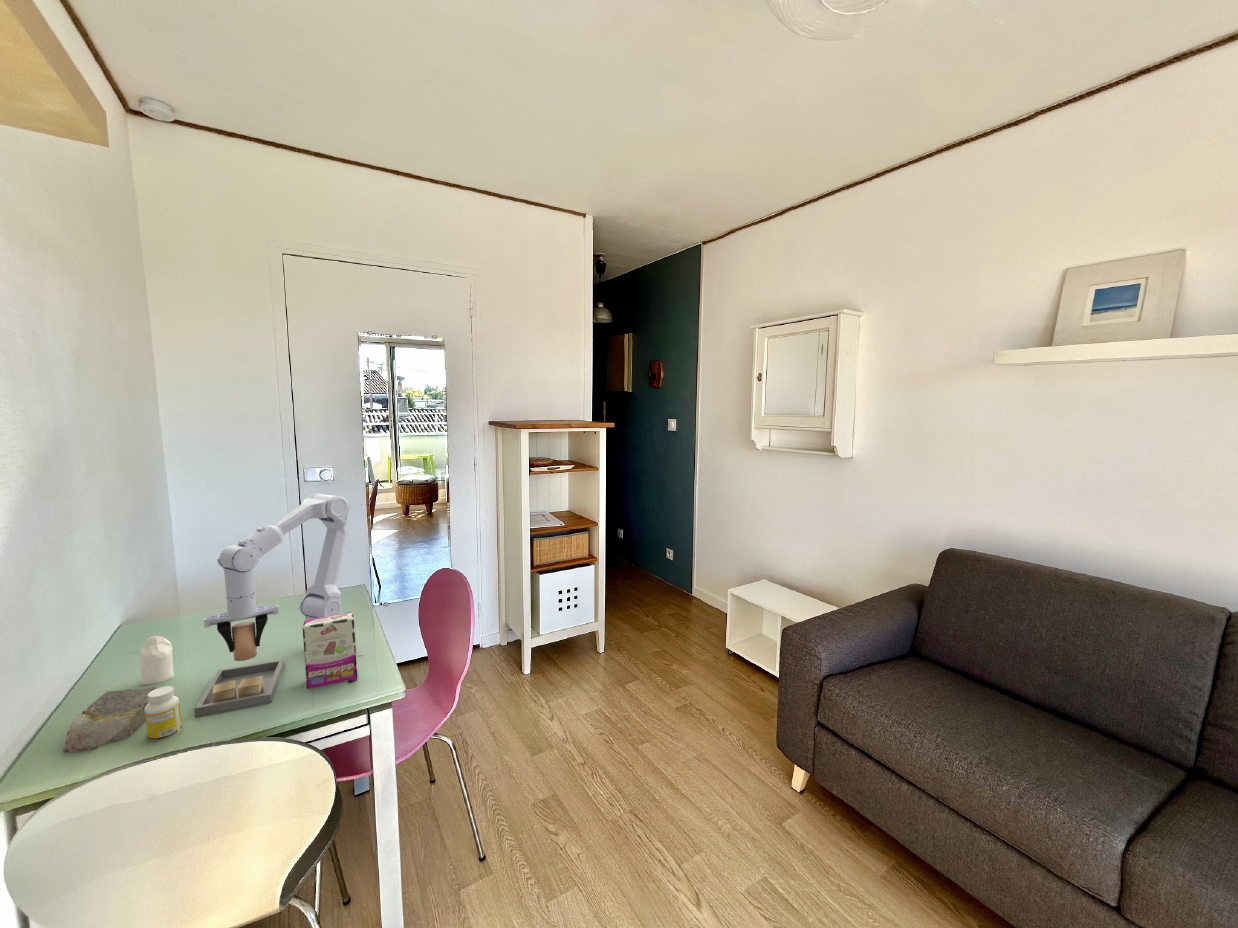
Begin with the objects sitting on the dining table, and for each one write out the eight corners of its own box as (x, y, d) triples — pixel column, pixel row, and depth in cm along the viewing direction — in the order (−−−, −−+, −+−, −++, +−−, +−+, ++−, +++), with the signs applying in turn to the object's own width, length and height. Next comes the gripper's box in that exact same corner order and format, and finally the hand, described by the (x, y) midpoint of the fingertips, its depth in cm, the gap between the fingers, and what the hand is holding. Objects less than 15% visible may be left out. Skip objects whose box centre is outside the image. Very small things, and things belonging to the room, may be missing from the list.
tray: (284, 668, 134) (284, 658, 134) (271, 704, 118) (270, 694, 118) (219, 679, 129) (218, 669, 128) (195, 719, 112) (194, 708, 112)
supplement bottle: (161, 727, 109) (157, 684, 108) (188, 726, 110) (184, 683, 109) (140, 744, 104) (135, 698, 103) (168, 742, 105) (164, 697, 103)
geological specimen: (166, 682, 118) (127, 717, 104) (167, 708, 118) (128, 746, 104) (108, 688, 115) (59, 725, 101) (109, 715, 115) (60, 755, 101)
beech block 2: (263, 691, 122) (262, 675, 122) (260, 700, 119) (258, 684, 118) (243, 695, 121) (242, 679, 120) (239, 704, 117) (237, 687, 117)
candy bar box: (357, 671, 133) (354, 611, 131) (357, 680, 129) (354, 618, 127) (307, 681, 128) (303, 618, 126) (306, 691, 124) (302, 626, 122)
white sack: (165, 627, 130) (174, 632, 128) (169, 671, 132) (178, 678, 129) (134, 636, 125) (142, 642, 122) (138, 682, 127) (147, 689, 124)
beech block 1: (236, 695, 120) (235, 679, 120) (235, 704, 117) (234, 687, 117) (215, 701, 118) (213, 684, 118) (213, 709, 115) (212, 693, 114)
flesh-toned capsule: (256, 650, 129) (254, 620, 128) (257, 657, 125) (254, 625, 125) (234, 655, 126) (231, 624, 126) (233, 662, 123) (231, 630, 122)
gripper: (276, 583, 131) (279, 634, 133) (203, 595, 123) (208, 649, 125) (277, 592, 126) (280, 644, 127) (201, 604, 117) (206, 661, 119)
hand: (244, 647), depth 126 cm, fingers closed on flesh-toned capsule, 5 cm apart
